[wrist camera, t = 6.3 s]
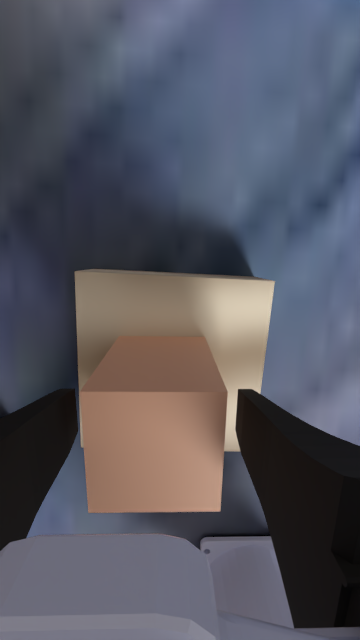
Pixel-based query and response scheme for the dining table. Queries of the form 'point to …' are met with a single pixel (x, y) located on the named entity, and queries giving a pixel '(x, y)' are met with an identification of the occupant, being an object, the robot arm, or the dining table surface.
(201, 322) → the birch base
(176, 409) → the terracotta block
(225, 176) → the dining table surface
